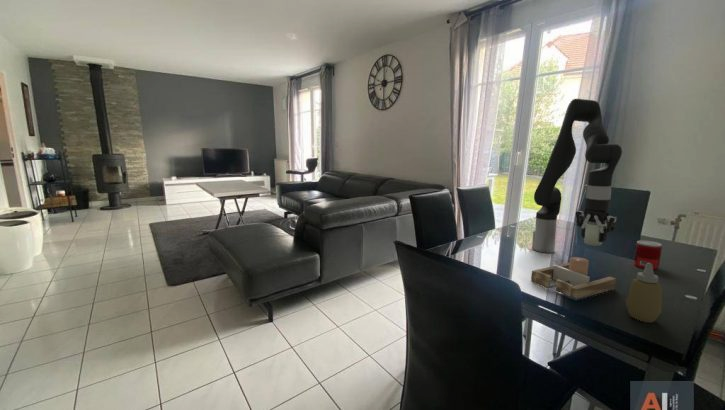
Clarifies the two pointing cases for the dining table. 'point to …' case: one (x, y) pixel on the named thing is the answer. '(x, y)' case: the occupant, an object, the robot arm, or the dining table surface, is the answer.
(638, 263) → the canned food
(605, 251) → the dining table surface
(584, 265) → the terracotta jar
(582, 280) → the pusher plate
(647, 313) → the squeeze bottle
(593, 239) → the sage jar
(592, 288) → the lane
